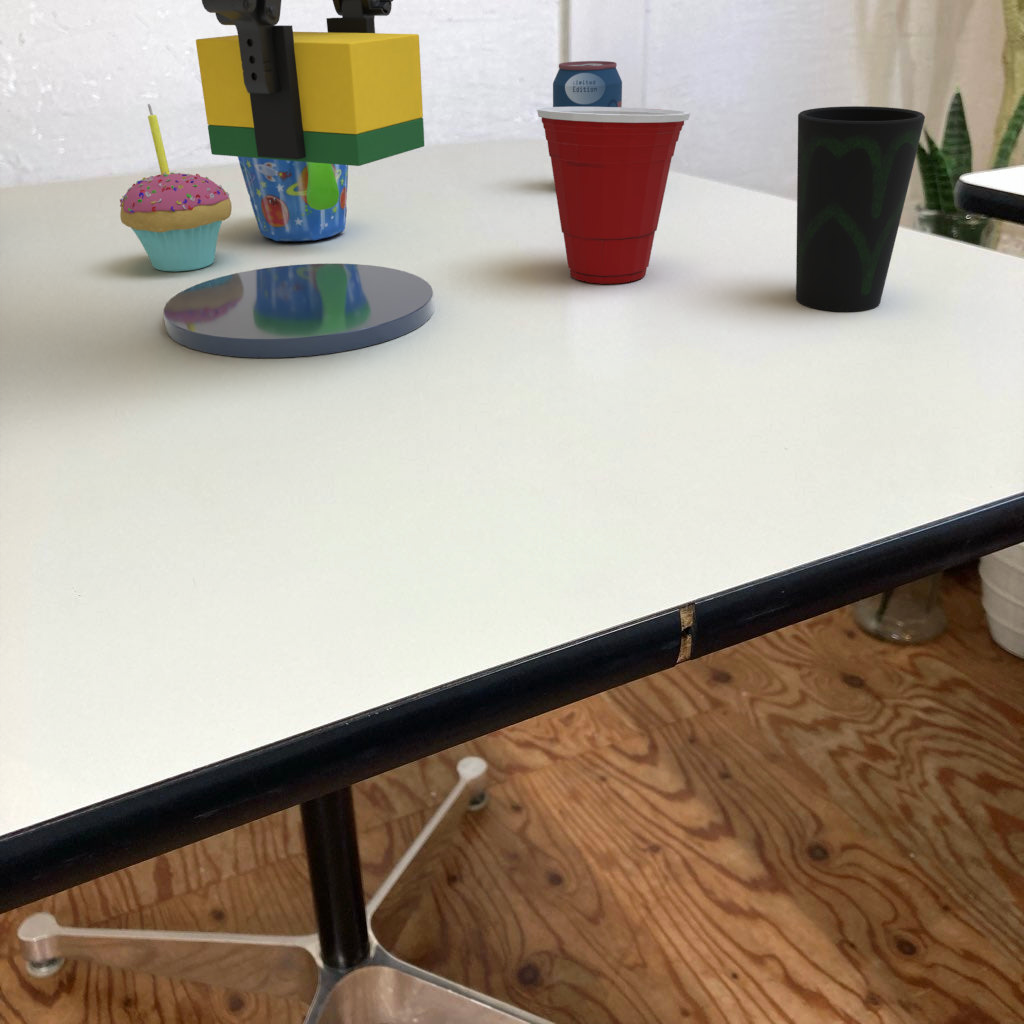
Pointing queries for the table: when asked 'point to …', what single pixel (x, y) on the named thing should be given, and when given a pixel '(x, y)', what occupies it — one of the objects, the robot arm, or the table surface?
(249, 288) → the plate
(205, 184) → the cupcake
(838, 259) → the cup
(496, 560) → the table surface
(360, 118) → the sponge
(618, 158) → the plastic cup
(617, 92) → the soda can
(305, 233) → the snack cup
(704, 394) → the table surface
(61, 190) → the table surface
